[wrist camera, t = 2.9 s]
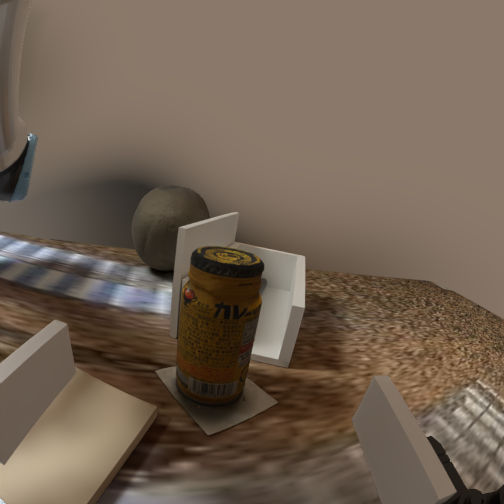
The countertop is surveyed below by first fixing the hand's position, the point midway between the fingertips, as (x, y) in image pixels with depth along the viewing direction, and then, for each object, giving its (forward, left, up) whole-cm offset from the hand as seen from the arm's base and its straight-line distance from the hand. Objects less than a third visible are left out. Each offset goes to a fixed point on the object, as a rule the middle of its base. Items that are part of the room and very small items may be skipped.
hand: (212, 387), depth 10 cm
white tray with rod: (-2, +27, -9) cm, 28 cm away
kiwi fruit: (-19, +35, -9) cm, 41 cm away
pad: (-12, -2, -9) cm, 15 cm away
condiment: (-2, +10, -9) cm, 14 cm away
